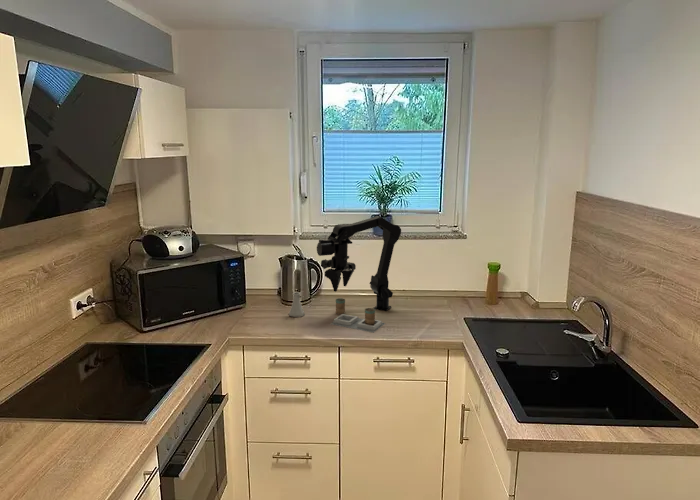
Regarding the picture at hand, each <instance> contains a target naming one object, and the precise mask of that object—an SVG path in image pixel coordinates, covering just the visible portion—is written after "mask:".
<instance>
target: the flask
mask: <svg viewBox="0 0 700 500" xmlns="http://www.w3.org/2000/svg"><path fill="white" fill-rule="evenodd" d="M292 295H293V300H292V303H291V307H290V309H289V312H288V315H289V317H293V318H300V317H301V318H302V317H304V316H305V315H306V314H305V311H304V308H303V306H302V303H301V298H300V297H301V296H300V295H301V292H298V291H297V292H296V291H295V292H292Z"/></svg>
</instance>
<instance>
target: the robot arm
mask: <svg viewBox="0 0 700 500" xmlns="http://www.w3.org/2000/svg"><path fill="white" fill-rule="evenodd" d="M377 227H378V228H379V229H380V230H381V231H382V240H383V245H382V250H381V254H380V259H379V262H378V266H377V271H376V273H375V274H374V275H371V276H370V282H369V285H370V289H371V290H372V291H373V294H375V295H376V302H375V303H376V304H375V306H374V307H373V309H375V310H379V311H383V312H387V311H388V310H389V309H391V308H392V305H390V298H393V294H394V292H393V291H391V289H390V288H389V283H390V282H389V277H388V274H389V269H390V264H391V260H392V256H393V252H394V247H395V245H396V244H397V242H398V241H399V239H400V237H401V234H402V229H401V226H399V225H397V224H396V223H395V224H394V223H392V222H390V221H388V220H387V219H385V218H384V217H383V216H379V215H375V216H373V217H370V218H366V219H363V220H359V221H357V222H353V223H340V224H339V223H338V224H335V225H334V226H333V229H332V231H331V233H330V234H329V236H328V237H327V239H318V243H317V244H316V253H317V255H318V256H319V257H321V256H323V257H324V256H332V255H333V256H332V257H331V258H330V259H322V260H321V261H320V267H321V268H323V270H325V271H324V277H326V279H329V280H330V282H331V286H332V289H333V292H335V293H336V292H337V291H338V288H339V286H340V282H341V279H342V285H343V287H347V285H348V283H349V281H350V279H351V277H352V276H353V273H354V272H355V270H357V269H356V266H357V265H356V264H355V263H354V262H348V259H350V255H348V250H349V249H348V247H349V246H348V245H350V244H351V245H352V244H353V241H352V240H351V239H350V238H352V237H353V236H354V235H356V234H357V233H360V232H363V231H367V230H370V229H373V228H377ZM327 268H328V269H327ZM341 276H342V277H341Z"/></svg>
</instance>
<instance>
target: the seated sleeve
mask: <svg viewBox="0 0 700 500" xmlns="http://www.w3.org/2000/svg"><path fill="white" fill-rule="evenodd" d="M375 318H376V309H374V307H373V308H372V307H368V308H364V319H365V324H367V325H372V326H373V325H375V320H376V319H375Z"/></svg>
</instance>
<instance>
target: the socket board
mask: <svg viewBox="0 0 700 500" xmlns="http://www.w3.org/2000/svg"><path fill="white" fill-rule="evenodd" d="M330 325H331V326H332V325H333V326H338V327H341V328H342V327H343V328H349V329H352V330H358V331H363V332H366V333H367V332H368V333H375V332H376V331H378V330H379V329H380V328H382V327H383V326H384V325H386V322H383V321H382V320H379V319H375V325H373V326H372V325H367V324H365V318H360V317H359V316H356V315H350V314H345V313H343V314H339V315H338V316H337V317H335V318H334V319H333V321H332V322H331V323H330Z"/></svg>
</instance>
